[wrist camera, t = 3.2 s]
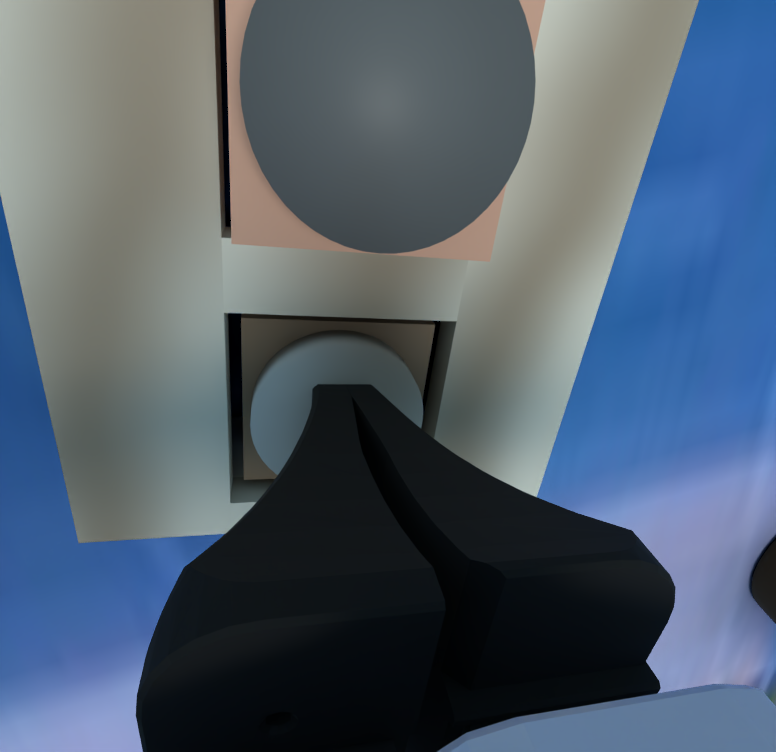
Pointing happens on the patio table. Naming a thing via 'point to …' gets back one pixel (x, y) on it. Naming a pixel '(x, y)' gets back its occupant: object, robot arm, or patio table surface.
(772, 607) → the olive oil
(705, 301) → the patio table surface
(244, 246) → the grey square block
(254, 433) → the box with round disc
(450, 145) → the beige grey-dot cube
